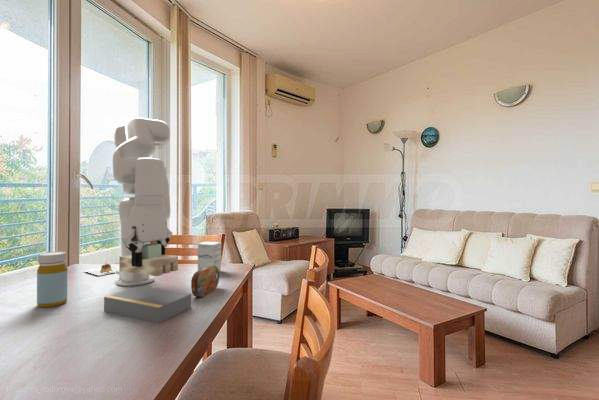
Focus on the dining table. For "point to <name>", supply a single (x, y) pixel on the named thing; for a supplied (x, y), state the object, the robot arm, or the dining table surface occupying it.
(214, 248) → the supplement box
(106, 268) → the dessert
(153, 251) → the box
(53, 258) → the bottle
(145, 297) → the dock
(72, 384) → the dining table surface
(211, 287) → the tin
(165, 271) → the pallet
